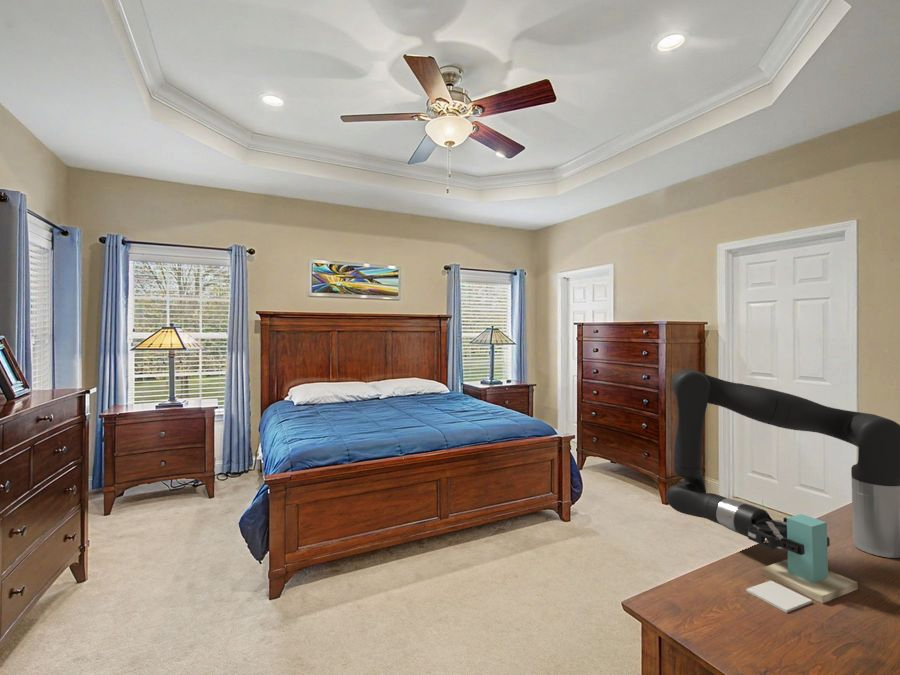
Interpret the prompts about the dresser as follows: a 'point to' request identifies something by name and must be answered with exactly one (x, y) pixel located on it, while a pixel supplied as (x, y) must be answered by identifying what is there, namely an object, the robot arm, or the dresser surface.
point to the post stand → (817, 591)
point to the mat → (779, 596)
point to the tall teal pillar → (808, 548)
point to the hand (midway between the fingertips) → (816, 546)
